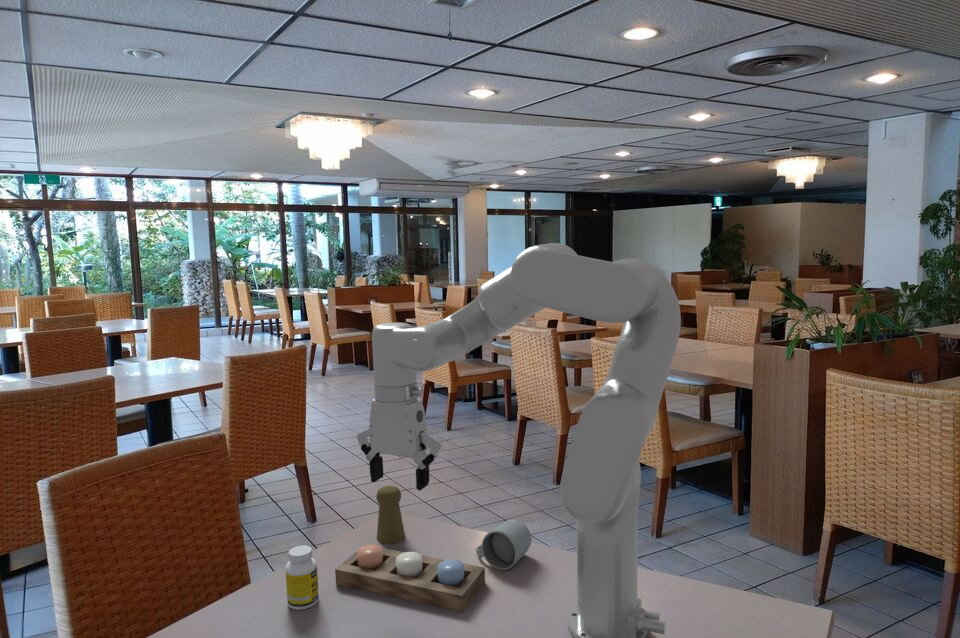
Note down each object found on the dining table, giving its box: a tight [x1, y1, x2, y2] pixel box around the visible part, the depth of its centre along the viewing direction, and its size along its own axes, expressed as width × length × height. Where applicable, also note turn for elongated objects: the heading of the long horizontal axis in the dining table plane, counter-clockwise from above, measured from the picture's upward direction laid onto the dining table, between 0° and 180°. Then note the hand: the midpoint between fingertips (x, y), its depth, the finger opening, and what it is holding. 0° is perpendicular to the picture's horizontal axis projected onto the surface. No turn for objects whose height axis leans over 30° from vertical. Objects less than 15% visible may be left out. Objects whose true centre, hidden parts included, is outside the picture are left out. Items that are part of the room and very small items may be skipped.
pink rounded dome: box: [356, 544, 383, 570], centre depth 126 cm, size 5×5×3 cm
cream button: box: [396, 551, 423, 579], centre depth 122 cm, size 5×5×3 cm
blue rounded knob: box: [437, 559, 465, 587], centre depth 119 cm, size 5×5×3 cm
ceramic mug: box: [475, 519, 532, 571], centre depth 131 cm, size 11×8×8 cm
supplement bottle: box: [285, 544, 320, 611], centre depth 117 cm, size 5×5×10 cm
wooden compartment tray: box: [334, 544, 486, 613], centre depth 123 cm, size 26×10×3 cm, turn 67°
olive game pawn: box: [375, 485, 406, 545], centre depth 141 cm, size 6×6×11 cm
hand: (399, 483), depth 121 cm, fingers open, 9 cm apart
